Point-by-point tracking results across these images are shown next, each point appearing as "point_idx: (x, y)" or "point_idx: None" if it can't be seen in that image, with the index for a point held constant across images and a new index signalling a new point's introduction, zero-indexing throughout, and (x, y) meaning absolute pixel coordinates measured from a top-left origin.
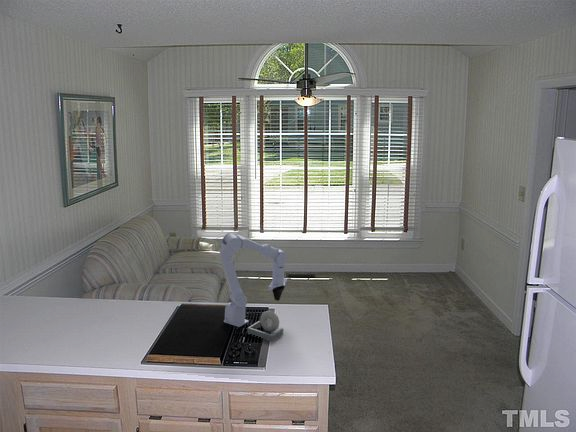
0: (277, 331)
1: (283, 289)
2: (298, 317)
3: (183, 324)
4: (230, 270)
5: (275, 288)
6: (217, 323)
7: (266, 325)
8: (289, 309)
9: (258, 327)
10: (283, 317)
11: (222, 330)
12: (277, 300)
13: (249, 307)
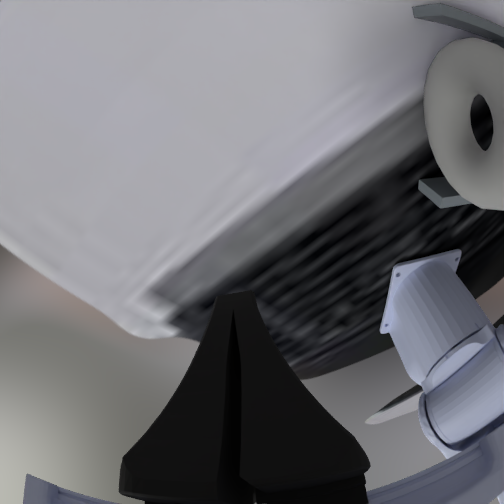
0: (485, 27)
1: (148, 432)
2: (91, 101)
3: None
4: None
5: (359, 480)
6: None
7: (471, 127)
8: (71, 236)
9: (434, 179)
10: (185, 168)
11: (489, 266)
12: (254, 298)
13: None
